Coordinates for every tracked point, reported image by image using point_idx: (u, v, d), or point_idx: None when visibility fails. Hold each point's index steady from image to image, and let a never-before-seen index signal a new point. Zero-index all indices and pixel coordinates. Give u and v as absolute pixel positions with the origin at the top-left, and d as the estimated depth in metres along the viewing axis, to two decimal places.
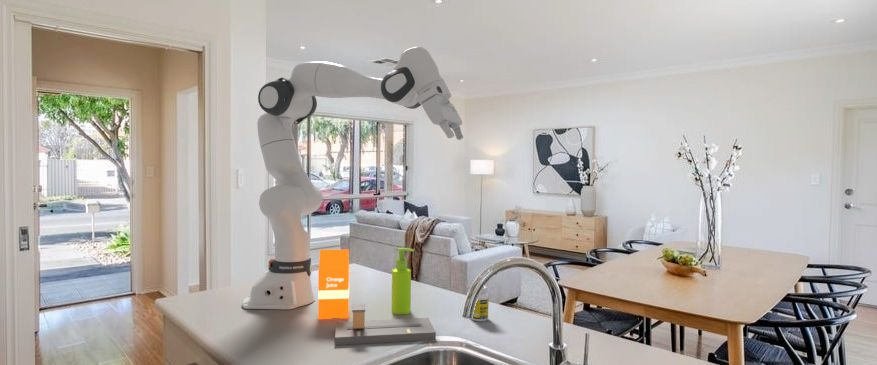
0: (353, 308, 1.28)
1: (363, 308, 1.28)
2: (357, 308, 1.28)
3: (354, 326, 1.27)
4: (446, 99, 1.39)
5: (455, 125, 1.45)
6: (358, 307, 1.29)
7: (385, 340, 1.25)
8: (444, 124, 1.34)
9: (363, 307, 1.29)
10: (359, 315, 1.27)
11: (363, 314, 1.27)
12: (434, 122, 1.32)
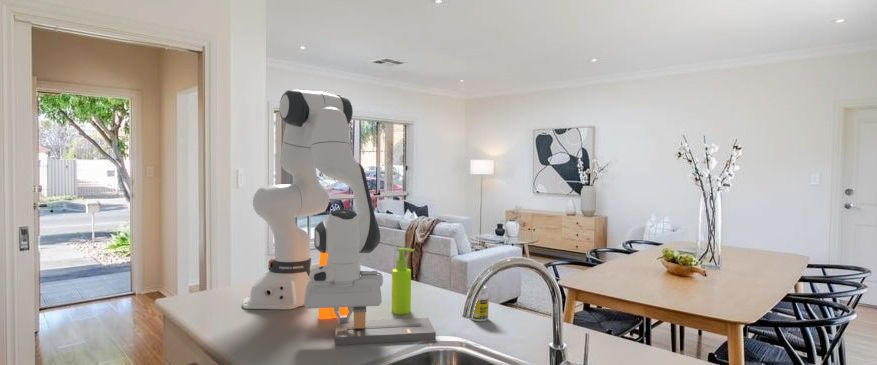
0: (354, 308, 1.28)
1: (364, 308, 1.28)
2: (358, 308, 1.28)
3: (355, 326, 1.27)
4: (338, 284, 1.25)
5: None
6: (359, 307, 1.29)
7: (385, 340, 1.25)
8: None
9: (364, 307, 1.29)
10: (360, 315, 1.27)
11: (364, 314, 1.27)
12: None
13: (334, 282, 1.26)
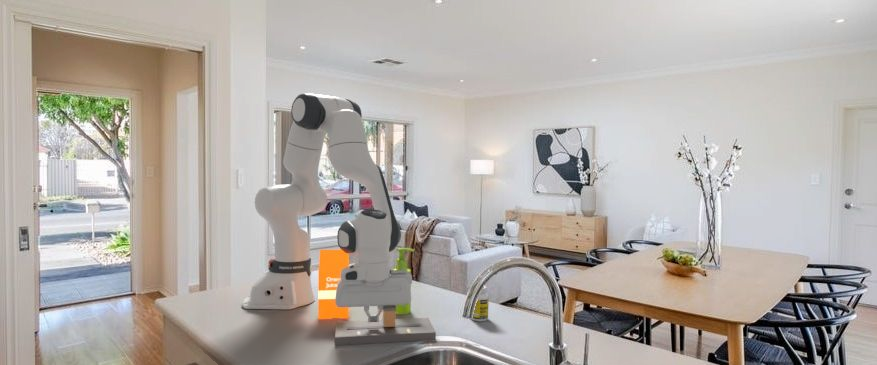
0: (384, 307, 1.29)
1: (394, 307, 1.29)
2: (388, 307, 1.29)
3: (385, 325, 1.28)
4: (369, 283, 1.26)
5: None
6: (389, 306, 1.30)
7: (385, 340, 1.25)
8: (364, 308, 1.29)
9: (394, 306, 1.30)
10: (390, 314, 1.28)
11: (394, 313, 1.29)
12: None
13: (365, 281, 1.27)
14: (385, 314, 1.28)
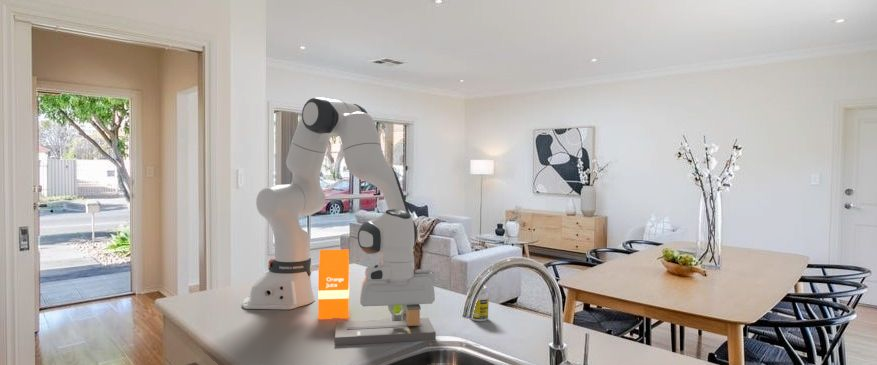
0: (408, 306, 1.30)
1: (418, 306, 1.31)
2: (412, 306, 1.30)
3: (410, 323, 1.29)
4: (394, 282, 1.28)
5: None
6: (413, 305, 1.31)
7: (385, 340, 1.25)
8: (388, 307, 1.30)
9: (417, 305, 1.31)
10: (414, 313, 1.29)
11: (418, 312, 1.30)
12: None
13: (389, 280, 1.28)
14: (409, 313, 1.29)
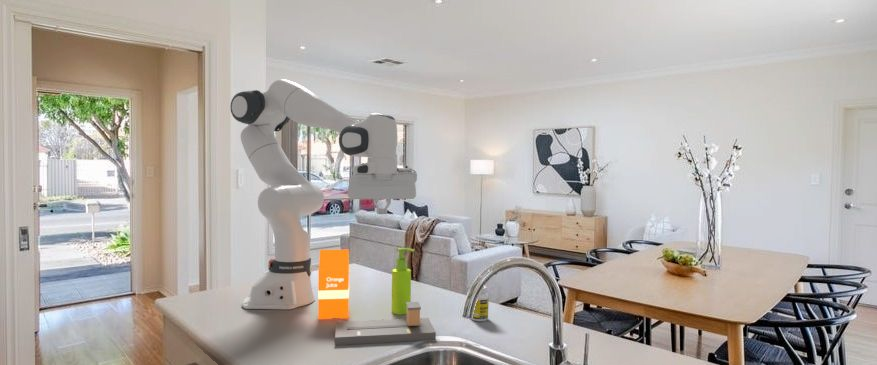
0: (408, 306, 1.30)
1: (418, 306, 1.31)
2: (412, 306, 1.30)
3: (410, 323, 1.29)
4: (378, 177, 1.41)
5: None
6: (413, 305, 1.31)
7: (385, 340, 1.25)
8: (373, 201, 1.43)
9: (418, 305, 1.31)
10: (414, 313, 1.30)
11: (418, 312, 1.30)
12: None
13: (375, 175, 1.41)
14: (410, 313, 1.29)
